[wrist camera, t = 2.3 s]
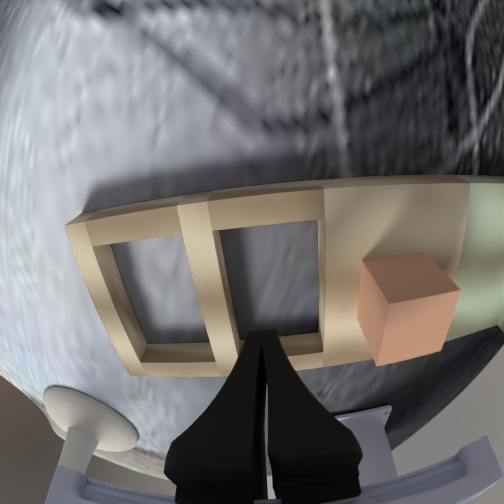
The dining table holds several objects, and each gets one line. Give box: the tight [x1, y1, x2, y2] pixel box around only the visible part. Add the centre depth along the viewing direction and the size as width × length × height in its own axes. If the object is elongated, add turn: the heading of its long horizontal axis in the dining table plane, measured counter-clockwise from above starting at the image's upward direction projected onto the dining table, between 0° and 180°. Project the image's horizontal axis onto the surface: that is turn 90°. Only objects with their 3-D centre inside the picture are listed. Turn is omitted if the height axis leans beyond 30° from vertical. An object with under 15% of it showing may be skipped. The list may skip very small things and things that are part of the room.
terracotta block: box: [357, 252, 460, 366], centre depth 14 cm, size 4×4×4 cm
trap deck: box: [65, 175, 504, 377], centre depth 16 cm, size 12×31×5 cm, turn 97°
